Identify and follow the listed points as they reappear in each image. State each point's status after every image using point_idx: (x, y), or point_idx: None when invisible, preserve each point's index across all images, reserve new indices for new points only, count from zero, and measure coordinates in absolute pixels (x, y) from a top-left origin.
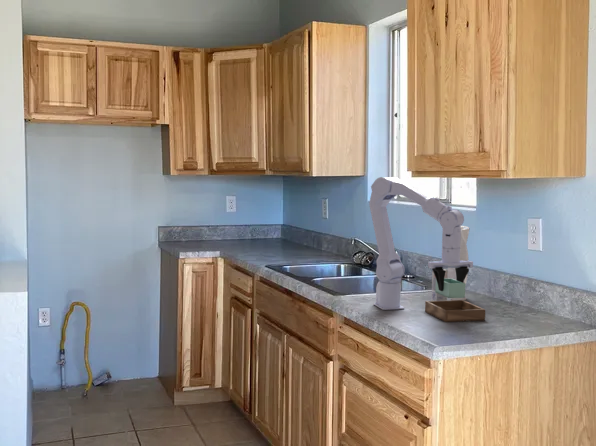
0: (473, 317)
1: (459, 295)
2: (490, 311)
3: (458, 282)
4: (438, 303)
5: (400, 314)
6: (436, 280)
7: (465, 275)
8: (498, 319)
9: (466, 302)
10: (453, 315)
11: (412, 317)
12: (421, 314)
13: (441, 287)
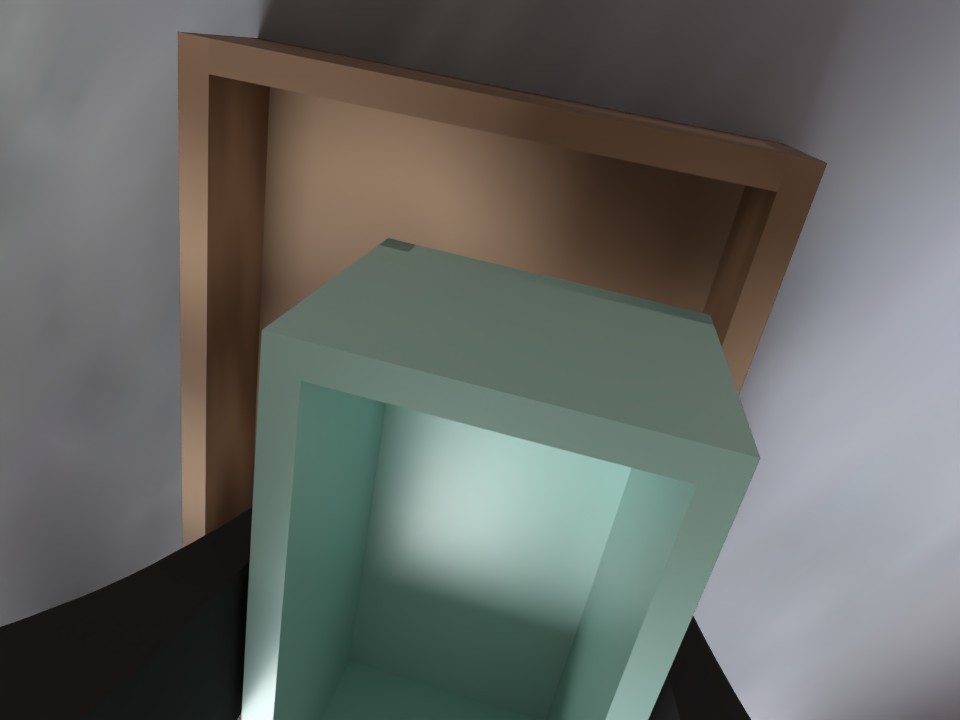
0: (392, 67)
1: (482, 278)
2: (8, 376)
3: (292, 584)
4: None
5: (947, 641)
6: None
7: (25, 634)
8: (76, 33)
9: (205, 480)
10: (682, 129)
11: (947, 497)
12: (738, 555)
13: (695, 621)
